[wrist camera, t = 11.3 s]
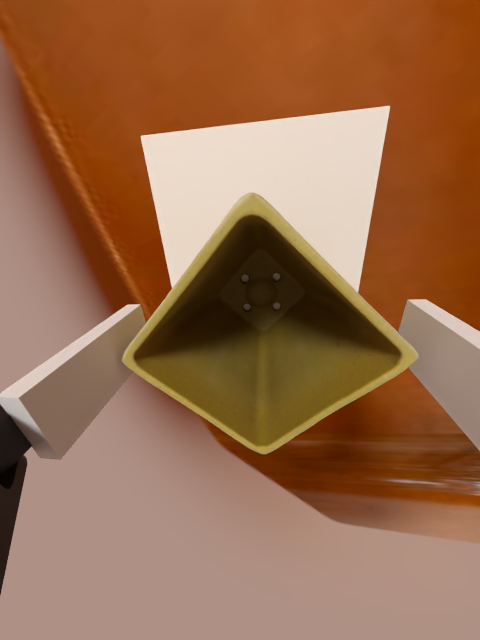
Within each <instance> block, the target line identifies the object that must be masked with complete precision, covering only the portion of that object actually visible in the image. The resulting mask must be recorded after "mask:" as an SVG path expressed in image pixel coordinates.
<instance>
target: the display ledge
mask: <svg viewBox="0 0 480 640" xmlns="http://www.w3.org/2000/svg"><path fill="white" fill-rule="evenodd" d="M389 110H390V106H384V107H376V108H367V109H359V110H351V111H343V112H334V113H326V114H318V115H309V116H301V117H293V118H285V119H276V120H268V121H260V122H252V123H243V124H235V125H227V126H219V127H210V128H202V129H194V130H186V131H177V132H169V133H161V134H153V135H144V136H141V141H142V146H143V150H144V155H145V160H146V165H147V170H148V174H149V179H150V184H151V189H152V194H153V199H154V203H155V208H156V213H157V218H158V223H159V228H160V232H161V237H162V242H163V247H164V252H165V257H166V261H167V266H168V271H169V276H170V281H171V286H172V288H173V287H174V286H175V284H176V283H177V282H178V280H179V279H180V278H181V276H182V275H183V274H184V273H185V271H186V270H187V268H188V267H189V266H190V264H191V263H192V262H193V260H194V259H195V257H196V256H197V255H198V253H199V252H200V251H201V249H202V248H203V247H204V245H205V244H206V243H207V241H208V240H209V238H210V237H211V236H212V234H213V233H214V232H215V230H216V229H217V227H218V226H219V225H220V223H221V222H222V220H223V219H224V218H225V216H226V215H227V214H228V212H229V211H230V210H231V208H232V207H233V206H234V204H235V203H236V202H237V201H238V200H239V199H240V198H241V197H242V196H244V195H245V194H247V193H256V194H258V195H260V196H261V197H263V198H264V199H265V200H266V201H267V202H268V203H270V204H271V205H272V206H273V207H274V208H275V209H276V210H277V211H278V212H279V213H280V214H281V215H282V216H283V218H284V219H285V220H286V221H287V222H288V223H289V224H290V225H291V226H292V227H293V228H294V229H295V230H296V231H297V232H298V233H299V234H300V235H301V236H302V237H303V238H304V239H305V240H306V241H307V242H308V243H309V244H310V245H311V246H312V247H313V248H314V249H315V250H316V251H317V252H318V253H319V254H320V255H321V256H322V257H323V258H324V259H325V260H326V261H327V262H328V263H329V264H330V265H331V266H332V267H333V268H334V269H335V270H336V271H337V272H338V273H339V274H340V275H341V276H342V277H343V278H344V279H345V280H346V281H347V282H348V283H349V284H350V285H351V286H352V287H353V288H354V289H355V290H356V291H357V292H358V289H359V284H360V278H361V272H362V266H363V260H364V255H365V249H366V243H367V237H368V231H369V226H370V220H371V214H372V208H373V202H374V197H375V191H376V185H377V179H378V173H379V168H380V162H381V156H382V150H383V145H384V139H385V133H386V127H387V121H388V116H389ZM241 279H242V281H243V282H247V281H248V280H249V277H248V275H243V276H242V277H241ZM279 279H280V274H279V273H275V274H273V280H275V281H278V280H279ZM250 308H251V306H250V305H249V304H245V305H244V309H245V310H249V309H250ZM273 308H274V309H279V308H280V304H279V303H274V304H273Z"/></svg>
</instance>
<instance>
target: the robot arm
mask: <svg viewBox="0 0 480 640" xmlns="http://www.w3.org/2000/svg"><path fill="white" fill-rule="evenodd" d="M145 324H146V321H145V318H144V314H143V311H142V307H141V304H138V305H126V306H125V307H123V308H122V309H121V310H119V311H118V312H116V313H115V314H113V315H112V316H111V317H109V318H108V319H106V320H105V321H103V322H102V323H100V324H99V325H98V326H96V327H95V328H93V329H92V330H90V331H89V332H88V333H86V334H85V335H83V336H82V337H80V338H79V339H78V340H76V341H75V342H73V343H72V344H70V345H69V346H68V347H66V348H65V349H63V350H62V351H60V352H59V353H57V354H56V355H54V356H53V357H52V358H50V359H49V360H47V361H46V362H44V363H43V364H42V365H40V366H39V367H37V368H36V369H34V370H33V371H31V372H30V373H29V374H27V375H26V376H24V377H23V378H21V379H20V380H18V381H17V382H16V383H14V384H13V385H11V386H10V387H9V388H7V389H6V390H4V391H3V392H1V393H0V594H1V589H2V584H3V579H4V575H5V570H6V565H7V560H8V555H9V550H10V545H11V540H12V535H13V530H14V526H15V521H16V516H17V511H18V506H19V502H20V496H21V491H22V487H23V482H24V477H25V472H26V467H27V459H26V457H25V456H24V453H26V451H27V450H28V449H29V448H30V447H31V446H32V447H33V449H34V450H35V451H36V453H37V454H38V456H39V457H40V458H47V459H60V460H61V459H62V457H63V456H64V455H65V454H66V452H67V451H68V450H69V449H70V448H71V446H72V445H73V444H74V443H75V442H76V440H77V439H78V438H79V437H80V435H81V434H82V433H83V432H84V431H85V429H86V428H87V427H88V426H89V425H90V423H91V422H92V421H93V420H94V418H95V417H96V416H97V415H98V414H99V412H100V411H101V410H102V409H103V408H104V406H105V405H106V404H107V403H108V401H109V400H110V399H111V398H112V397H113V395H114V394H115V393H116V392H117V391H118V389H119V388H120V387H121V386H122V384H123V383H124V382H125V381H126V380H127V378H128V377H129V376H130V375H131V373H132V372H133V371H132V370H131V369H130V368H128V367H127V366H126V365H125V364H124V363H123V362H122V358H123V355H124V352H125V351H126V349H127V347H128V346H129V344H130V343H131V342H132V341H133V339H134V338H135V336H136V335H137V334H138V333H139V331H140V330H141V329H142V328H143V327H144V325H145ZM398 333H399V334H400V335H401V336H402V337H403V338H404V339H405V340H406V341H407V342H409V343H410V344H411V345H412V346H413V347H414V349H415V350H416V351H417V352H418V355H419V358H418V360H417V361H415V362H414V363H413V364H412V365H410V366H409V367H408V368H409V369H410V370H411V371H412V372H413V374H414V375H415V376H416V377H417V378H418V379H419V381H420V382H421V383H422V384H423V385H424V386H425V388H426V389H427V390H428V391H429V392H430V393H431V395H432V396H433V397H434V398H435V399H436V400H437V402H438V403H439V404H440V405H441V406H442V407H443V409H444V410H445V411H446V412H447V413H448V414H449V416H450V417H451V418H452V419H453V420H454V421H455V423H456V424H457V425H458V426H459V427H460V428H461V430H462V431H463V432H464V433H465V434H466V435H467V437H468V438H469V439H470V440H471V441H472V442H473V444H474V445H475V446H476V447H477V448H478V449H479V451H480V332H479V331H478V330H476V329H474V328H473V327H471V326H469V325H468V324H466V323H464V322H463V321H461V320H459V319H458V318H456V317H454V316H453V315H451V314H449V313H448V312H446V311H444V310H443V309H441V308H439V307H438V306H436V305H434V304H433V303H431V302H429V301H428V300H426V299H421V300H407V303H406V306H405V310H404V313H403V317H402V320H401V324H400V327H399V331H398Z"/></svg>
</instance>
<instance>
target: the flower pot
mask: <svg viewBox="0 0 480 640" xmlns="http://www.w3.org/2000/svg"><path fill="white" fill-rule="evenodd" d="M275 273H279V274H280V279H279V280H278V281H275V280H273V274H275ZM243 275H248V277H249V280H248V281H247V282H243V281H242V279H241V277H242V276H243ZM274 303H279V304H280V308H279V309H274V308H273V304H274ZM245 304H249V305H250V306H251V308H250V309H249V310H245V309H244V305H245ZM418 358H419V355H418V352H417V351H416V350H415V349H414V347H413V346H412V345H411V344H410V343H409V342H407V341H406V340H405V339H404V338H403V337H402V336H401V335H400V334H399V333H398V332H397V331H396V330H395V329H394V328H393V327H392V326H391V325H390V324H389V323H388V322H387V321H386V320H385V319H384V318H383V317H382V316H381V315H380V314H379V313H378V312H377V311H376V310H375V309H374V308H373V307H371V306H370V305H369V304H368V303H367V302H366V301H365V300H364V299H363V298H362V297H361V296H360V295H359V293H358V292H357V291H356V290H355V289H354V288H353V287H352V286H351V285H350V284H349V283H348V282H347V281H346V280H345V279H344V278H343V277H342V276H341V275H340V274H339V273H338V272H337V271H336V270H335V269H334V268H333V267H332V266H331V265H330V264H329V263H328V262H327V261H326V260H325V259H324V258H323V257H322V256H321V255H320V254H319V253H318V252H317V251H316V250H315V249H314V248H313V247H312V246H311V245H310V244H309V243H308V242H307V241H306V240H305V239H304V238H303V237H302V236H301V235H300V234H299V233H298V232H297V231H296V230H295V229H294V228H293V227H292V226H291V225H290V224H289V223H288V222H287V221H286V220H285V219H284V218H283V216H282V215H281V214H280V213H279V212H278V211H277V210H276V209H275V208H274V207H273V206H272V205H271V204H270V203H268V202H267V201H266V200H265V199H264V198H263V197H261V196H260V195H258V194H256V193H247V194H245V195H244V196H242V197H241V198H240V199H239V200H238V201H237V202H236V203H235V204H234V206H233V207H232V208H231V210H230V211H229V212H228V214H227V215H226V216H225V218H224V219H223V220H222V222H221V223H220V225H219V226H218V227H217V229H216V230H215V232H214V233H213V234H212V236H211V237H210V238H209V240H208V241H207V243H206V244H205V245H204V247H203V248H202V249H201V251H200V252H199V253H198V255H197V256H196V257H195V259H194V260H193V262H192V263H191V264H190V266H189V267H188V268H187V270H186V271H185V273H184V274H183V275H182V276H181V278H180V279H179V280H178V282H177V283H176V284H175V286H174V287H173V288H172V289H171V291H170V292H169V293H168V295H167V296H166V298H165V299H164V300H163V302H162V303H161V304H160V306H159V307H158V308H157V310H156V311H155V312H154V314H153V315H152V316H151V318H150V319H149V320H148V321H147V323H146V324H145V325H144V327H143V328H142V329H141V330H140V331H139V333H138V334H137V335H136V336H135V338H134V339H133V341H132V342H131V343H130V344H129V346H128V347H127V349H126V351H125V352H124V355H123V358H122V362H123V363H124V364H125V365H126V366H127V367H128V368H130V369H131V370H132V371H133V372H135V373H136V374H138V375H139V376H141V377H142V378H144V379H145V380H146V381H148V382H149V383H151V384H153V385H154V386H156V387H158V388H159V389H161V390H162V391H164V392H165V393H167V394H168V395H170V396H171V397H173V398H174V399H176V400H177V401H179V402H180V403H182V404H184V405H185V406H187V407H188V408H190V409H191V410H193V411H194V412H196V413H197V414H199V415H200V416H202V417H203V418H205V419H206V420H208V421H209V422H211V423H212V424H214V425H215V426H217V427H218V428H220V429H221V430H222V431H224V432H225V433H227V434H228V435H230V436H231V437H233V438H234V439H236V440H237V441H239V442H240V443H242V444H243V445H245V446H246V447H248V448H250V449H251V450H254V451H256V452H258V453H261V454H267V453H270V452H272V451H274V450H275V449H277V448H279V447H280V446H282V445H283V444H285V443H287V442H288V441H290V440H291V439H293V438H294V437H295V436H297V435H298V434H300V433H302V432H303V431H305V430H307V429H308V428H309V427H311V426H312V425H314V424H315V423H317V422H318V421H320V420H321V419H323V418H325V417H326V416H328V415H330V414H331V413H333V412H335V411H336V410H338V409H340V408H341V407H343V406H345V405H347V404H348V403H350V402H352V401H354V400H356V399H357V398H359V397H361V396H363V395H364V394H366V393H368V392H370V391H371V390H373V389H375V388H376V387H378V386H380V385H381V384H383V383H385V382H387V381H388V380H390V379H392V378H394V377H395V376H397V375H398V374H400V373H401V372H403V371H404V370H405V369H407V368H408V367H409V366H410V365H412V364H413V363H414V362H415V361H417V360H418Z"/></svg>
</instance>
